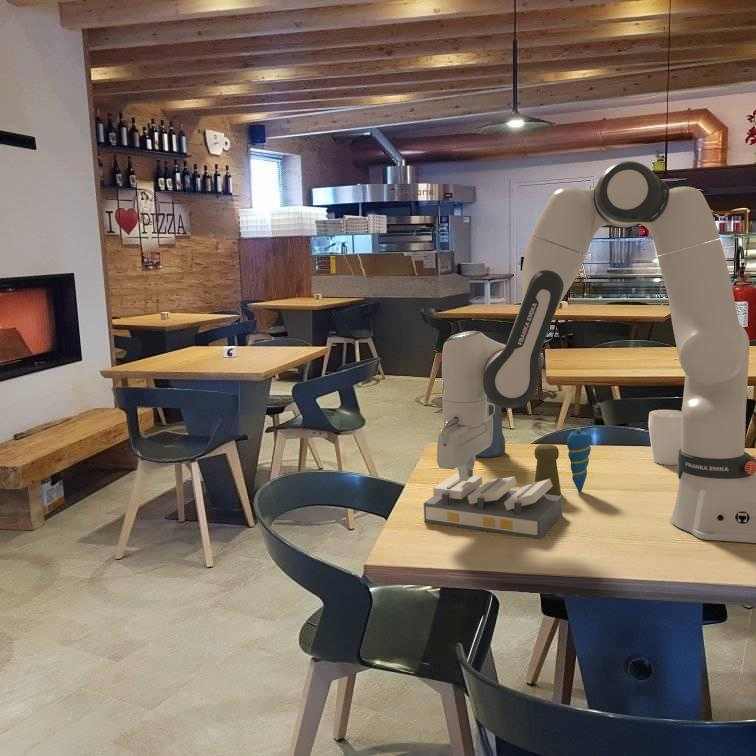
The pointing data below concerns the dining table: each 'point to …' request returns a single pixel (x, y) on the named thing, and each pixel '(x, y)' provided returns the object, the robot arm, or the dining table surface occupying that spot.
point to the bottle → (495, 436)
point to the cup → (665, 435)
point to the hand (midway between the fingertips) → (466, 479)
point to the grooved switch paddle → (457, 486)
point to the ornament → (579, 455)
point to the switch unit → (495, 514)
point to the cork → (547, 467)
